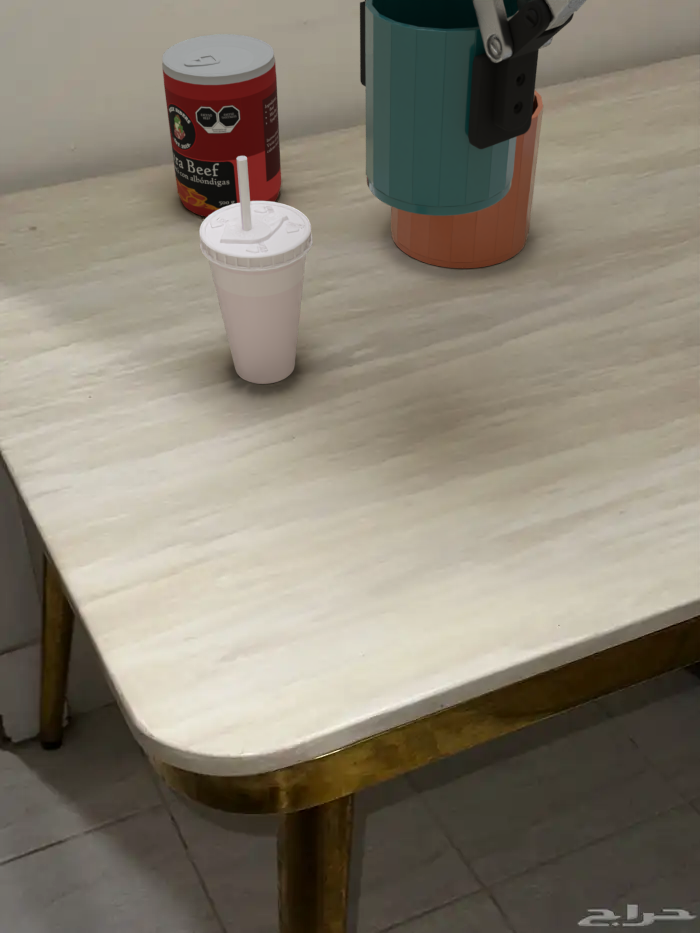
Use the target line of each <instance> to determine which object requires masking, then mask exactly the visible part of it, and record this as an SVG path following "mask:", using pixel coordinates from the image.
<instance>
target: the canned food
mask: <svg viewBox="0 0 700 933" xmlns="http://www.w3.org/2000/svg"><path fill="white" fill-rule="evenodd" d="M161 61H162V64H161V67H162V76H163V86H164V94H165V95H164V96H165V102H166V103H165V104H166V112H167V118H168V127H169V136H170V142H171V144H170V145H171V152H172V159H173V160H172V161H173V168H174V174H175V175H174V176H175V184H176V191H177V194H178V196H179V199H180V201H181V203H182V204H183V206H184V208H186V209H187V210H189V211H190V212H192V213H194V214H195V215H199V216H202V217H205V218H207V217H208V216H209V215H210V214H212V213H213V212H215V211H216V210H218V209H221V208H223V207H225V206H228V205H231V204H236V203H240V195H239V183H238V170H237V157H239V156H246V157H247V165H248V179H249V193H250V201H271V202H277V199H278V197H279V195H280V191H281V186H282V168H281V149H280V148H281V146H280V125H279V103H278V102H279V101H278V83H277V82H278V81H277V80H278V79H277V67H276V66H277V65H276V58H275V52H274V48H273V47H272V46H271V44H269V43H267V41H264V40H261V39H260V38H256V37H252V36H249V35H242V34H231V33H219V34H217V33H216V34H207V35H200V36H195V37H191V38H188V39H185V40H182V41H179V42H178V43H175V44H173V45H172V46H169V47H168V48H167V49H166V50H165V51H164V52H163V55H162V56H161Z"/></svg>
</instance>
